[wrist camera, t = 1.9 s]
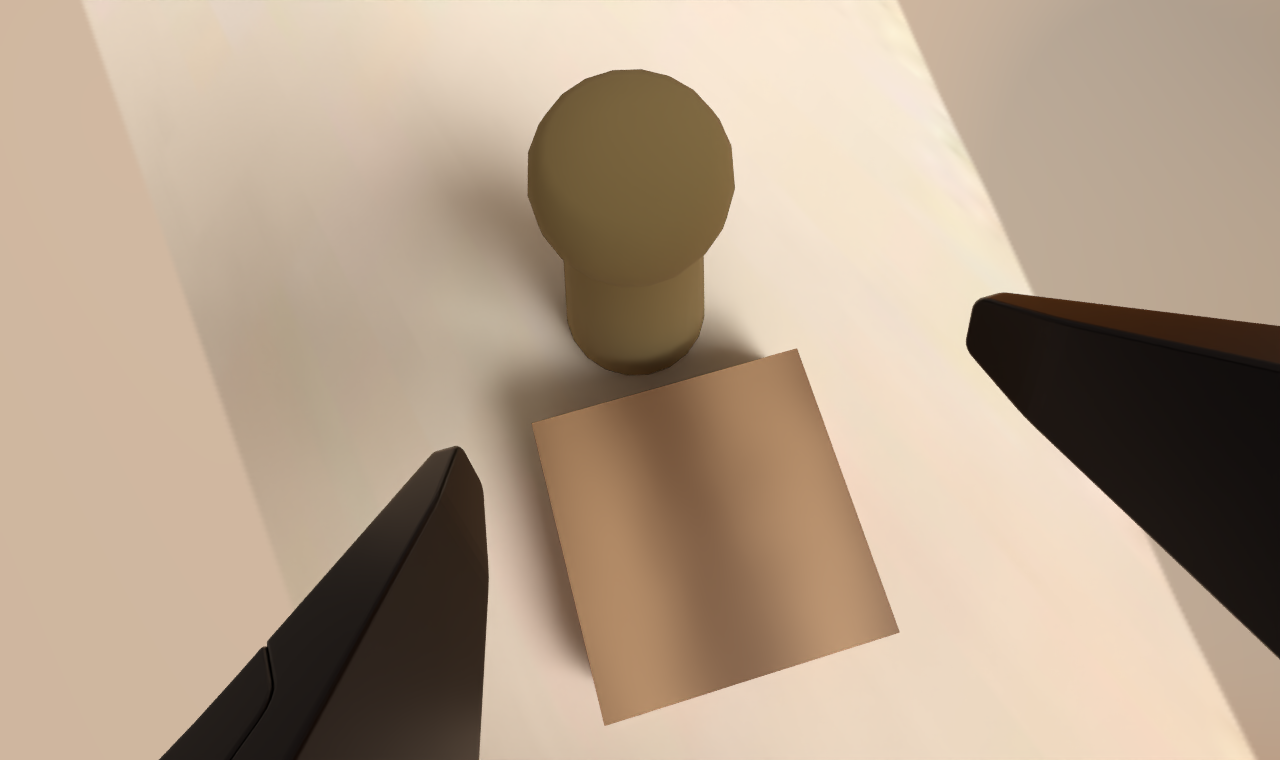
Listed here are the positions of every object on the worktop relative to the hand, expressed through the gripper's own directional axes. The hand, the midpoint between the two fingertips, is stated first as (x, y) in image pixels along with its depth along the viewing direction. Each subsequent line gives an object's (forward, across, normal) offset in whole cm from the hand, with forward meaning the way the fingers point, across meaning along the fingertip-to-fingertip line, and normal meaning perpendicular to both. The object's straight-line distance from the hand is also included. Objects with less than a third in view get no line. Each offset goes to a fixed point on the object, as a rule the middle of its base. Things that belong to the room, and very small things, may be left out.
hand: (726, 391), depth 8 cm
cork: (+13, 0, +4) cm, 14 cm away
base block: (+6, 0, +11) cm, 13 cm away
